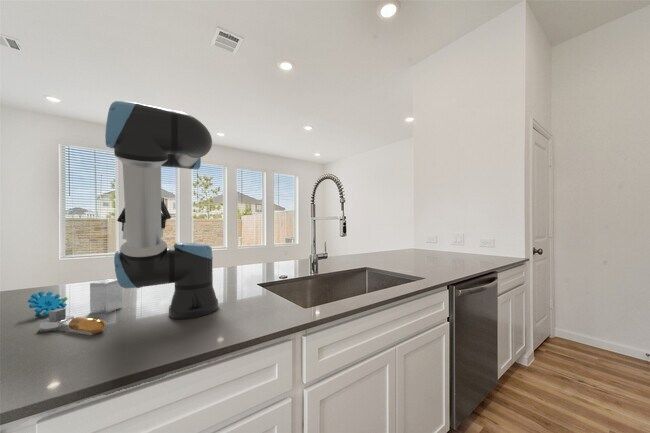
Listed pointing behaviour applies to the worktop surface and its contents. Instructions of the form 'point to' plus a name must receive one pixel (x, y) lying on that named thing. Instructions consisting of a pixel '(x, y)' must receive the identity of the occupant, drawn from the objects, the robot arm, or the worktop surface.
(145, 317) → the worktop surface
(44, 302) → the gear
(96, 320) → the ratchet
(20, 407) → the worktop surface
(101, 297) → the brushed metal block
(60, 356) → the worktop surface
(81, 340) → the worktop surface
